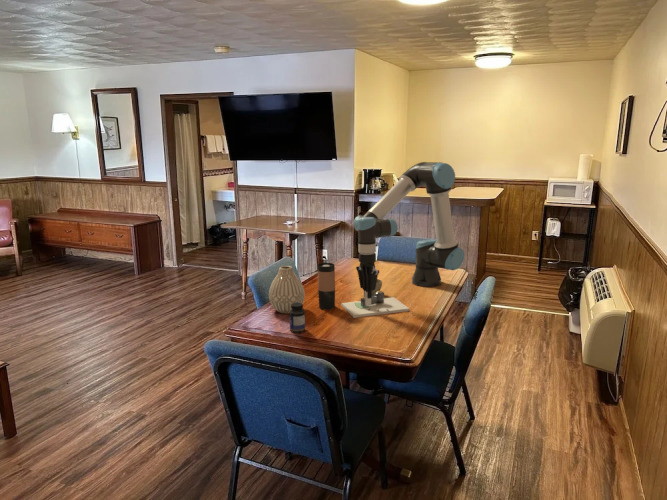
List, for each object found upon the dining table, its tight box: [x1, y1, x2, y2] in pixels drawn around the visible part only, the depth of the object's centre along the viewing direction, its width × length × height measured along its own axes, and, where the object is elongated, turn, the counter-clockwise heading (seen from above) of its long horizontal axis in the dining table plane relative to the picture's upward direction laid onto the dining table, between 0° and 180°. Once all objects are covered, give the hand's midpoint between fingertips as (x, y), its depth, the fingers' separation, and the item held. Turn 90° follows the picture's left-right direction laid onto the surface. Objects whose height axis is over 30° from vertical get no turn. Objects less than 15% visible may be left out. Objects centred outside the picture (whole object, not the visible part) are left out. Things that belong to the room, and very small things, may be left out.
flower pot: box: [372, 278, 383, 296], centre depth 236 cm, size 10×10×7 cm
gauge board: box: [341, 296, 410, 319], centre depth 218 cm, size 26×17×2 cm, turn 107°
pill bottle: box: [288, 302, 306, 334], centre depth 192 cm, size 6×6×11 cm
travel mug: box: [317, 262, 336, 311], centre depth 218 cm, size 8×8×20 cm
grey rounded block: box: [360, 290, 385, 307], centre depth 217 cm, size 12×4×5 cm, turn 126°
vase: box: [268, 265, 306, 314], centre depth 215 cm, size 16×16×20 cm
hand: (368, 304), depth 215 cm, fingers closed
